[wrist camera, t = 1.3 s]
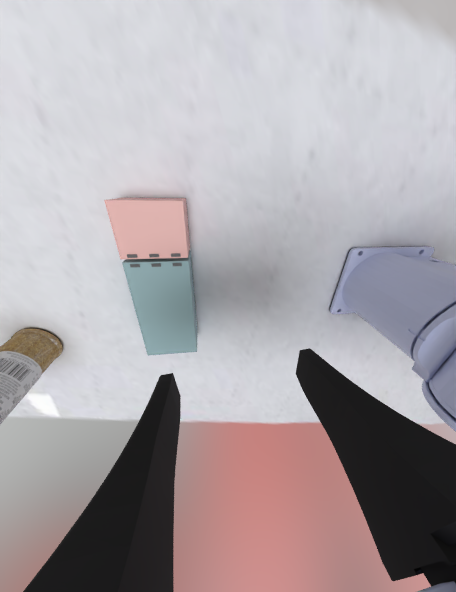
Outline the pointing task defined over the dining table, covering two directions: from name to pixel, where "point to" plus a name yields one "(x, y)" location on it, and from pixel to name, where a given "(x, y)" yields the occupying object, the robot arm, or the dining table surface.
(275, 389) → the dining table surface
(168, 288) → the teal elongated prism
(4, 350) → the sprinkles bottle
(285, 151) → the dining table surface
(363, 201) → the dining table surface
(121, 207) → the stub
